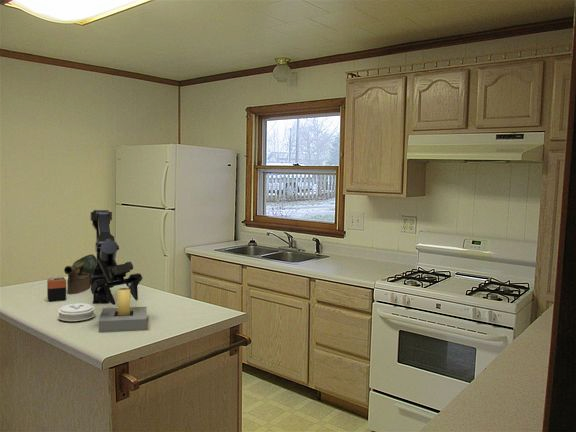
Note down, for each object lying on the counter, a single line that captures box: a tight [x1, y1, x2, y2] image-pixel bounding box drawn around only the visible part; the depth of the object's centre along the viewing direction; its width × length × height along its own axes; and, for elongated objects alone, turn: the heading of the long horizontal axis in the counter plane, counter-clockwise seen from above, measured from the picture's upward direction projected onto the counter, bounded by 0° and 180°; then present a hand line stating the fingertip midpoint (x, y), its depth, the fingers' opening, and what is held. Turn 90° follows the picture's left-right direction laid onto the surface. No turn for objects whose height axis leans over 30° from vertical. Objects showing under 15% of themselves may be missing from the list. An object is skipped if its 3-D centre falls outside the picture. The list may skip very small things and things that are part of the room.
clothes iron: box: [63, 262, 91, 295], centre depth 223 cm, size 8×16×13 cm, turn 0°
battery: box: [46, 275, 67, 303], centre depth 208 cm, size 4×7×10 cm, turn 124°
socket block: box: [98, 306, 148, 333], centre depth 180 cm, size 16×16×4 cm
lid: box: [57, 303, 95, 322], centre depth 185 cm, size 13×13×5 cm
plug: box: [117, 287, 131, 316], centre depth 180 cm, size 4×4×12 cm
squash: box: [71, 253, 97, 284], centre depth 239 cm, size 14×15×15 cm
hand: (126, 302), depth 179 cm, fingers open, 9 cm apart
